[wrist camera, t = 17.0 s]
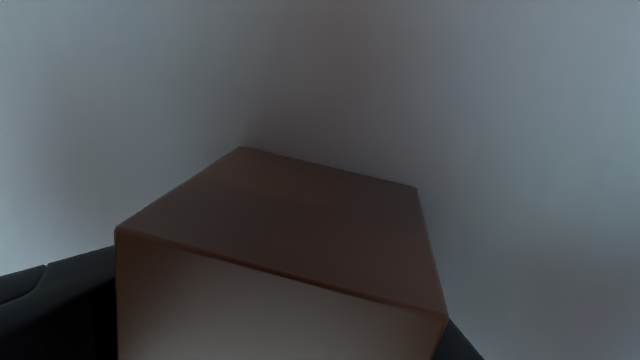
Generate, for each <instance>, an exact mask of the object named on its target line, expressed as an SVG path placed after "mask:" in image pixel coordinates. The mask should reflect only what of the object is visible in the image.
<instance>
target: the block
mask: <svg viewBox="0 0 640 360" xmlns="http://www.w3.org/2000/svg"><path fill="white" fill-rule="evenodd" d="M114 248H115V287H116V327H117V360H432V358H433V356H434V354H435V351H436V349H437V346H438V344H439V342H440V339H441V337H442V334H443V332H444V330H445V327H446V325H447V322H448V320H449V315H448V311H447V307H446V303H445V299H444V295H443V291H442V287H441V283H440V279H439V276H438V272H437V268H436V264H435V260H434V256H433V252H432V248H431V244H430V240H429V236H428V232H427V228H426V224H425V221H424V217H423V213H422V209H421V205H420V201H419V197H418V193H417V189H416V188H413V187H409V186H405V185H401V184H397V183H392V182H388V181H384V180H380V179H376V178H372V177H367V176H363V175H359V174H355V173H351V172H346V171H342V170H338V169H334V168H330V167H326V166H321V165H317V164H313V163H309V162H305V161H300V160H296V159H292V158H288V157H284V156H280V155H275V154H271V153H267V152H263V151H259V150H255V149H250V148H246V147H242V146H240V147H238V148H236V149H235V150H233V151H232V152H230V153H229V154H227V155H226V156H224V157H222V158H221V159H219V160H218V161H216V162H215V163H213V164H212V165H210V166H209V167H207V168H205V169H204V170H202V171H201V172H199V173H198V174H196V175H195V176H193V177H192V178H190V179H188V180H187V181H185V182H184V183H182V184H181V185H179V186H178V187H176V188H175V189H173V190H171V191H170V192H168V193H167V194H165V195H164V196H162V197H161V198H159V199H158V200H156V201H154V202H153V203H151V204H150V205H148V206H147V207H145V208H144V209H142V210H141V211H139V212H137V213H136V214H134V215H133V216H131V217H130V218H128V219H127V220H125V221H124V222H122V223H120V224H119V225H117V226H116V228H115V230H114Z"/></svg>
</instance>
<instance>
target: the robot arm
mask: <svg viewBox="0 0 640 360" xmlns="http://www.w3.org/2000/svg"><path fill="white" fill-rule="evenodd" d="M0 360H117V327H116V287H115V248H114V245H113V246H110V247H106V248H102V249H99V250H95V251H91V252H88V253H84V254H81V255H77V256H73V257H70V258H66V259H63V260H59V261H55V262H52V263H49V264H47V266H46V265H41V266H37V267H34V268H30V269H26V270H23V271H19V272H15V273H11V274H8V275H4V276H0ZM432 360H484V358H483V357H482V356H481V355H480V354H479V353H478V351H477V350H476V349H475V348H474V347H473V345H472V344H471V343H470V342H469V341H468V339H467V338H466V337H465V336H464V335H463V334H462V332H461V331H460V330H459V329H458V328H457V326H456V325H455V324H454V323H453V322H452V320H451V319H450V318H449V320H448V322H447V325H446V327H445V330H444V332H443V334H442V337H441V339H440V342H439V344H438V346H437V349H436V351H435V354H434V356H433V358H432Z"/></svg>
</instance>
